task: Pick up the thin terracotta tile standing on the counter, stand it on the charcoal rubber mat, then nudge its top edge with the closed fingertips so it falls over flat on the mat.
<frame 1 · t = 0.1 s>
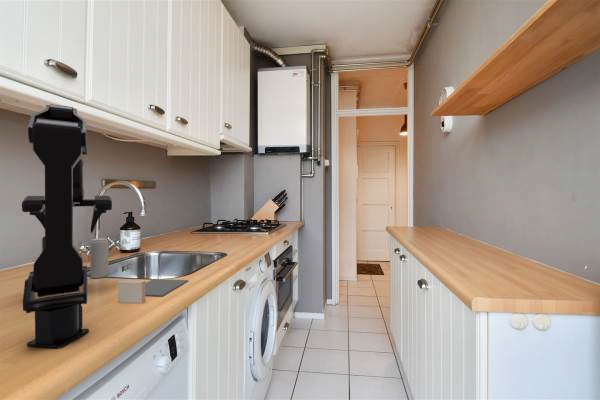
hand: (71, 233, 84), 15 cm above the counter, tool pointing down, fingers open, 9 cm apart
mat: (157, 287, 86), on the counter
tile: (132, 301, 75), on the counter
beverage can: (99, 277, 98), on the counter
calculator: (57, 288, 86), on the counter
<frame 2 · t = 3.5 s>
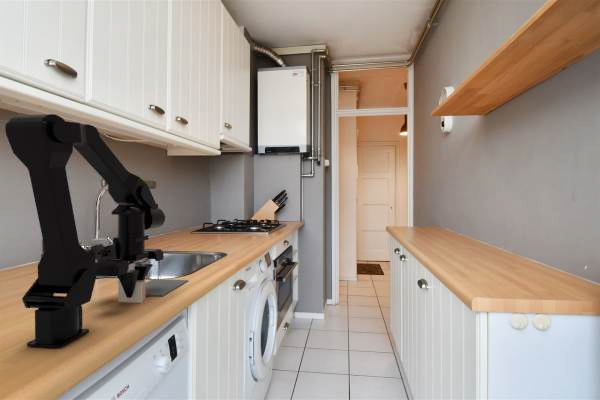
hand: (132, 296, 75), 1 cm above the counter, tool pointing down, fingers closed on tile, 2 cm apart
tile: (132, 301, 75), on the counter, touching gripper
everything else where it was.
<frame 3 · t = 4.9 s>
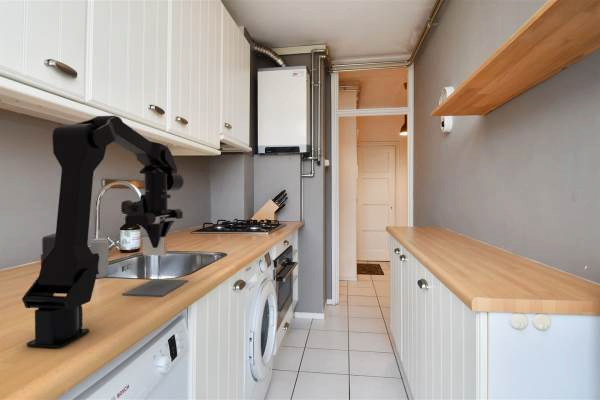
hand: (157, 247, 86), 11 cm above the counter, tool pointing down, fingers closed on tile
tile: (155, 254, 86), point 9 cm above the counter, touching gripper
everything else where it was.
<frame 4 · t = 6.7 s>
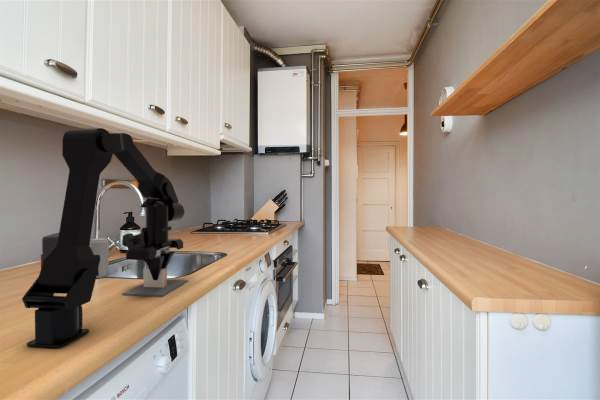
hand: (157, 279, 86), 2 cm above the counter, tool pointing down, fingers closed on tile, 2 cm apart
tile: (155, 286, 86), resting on mat, touching gripper
everything else where it was.
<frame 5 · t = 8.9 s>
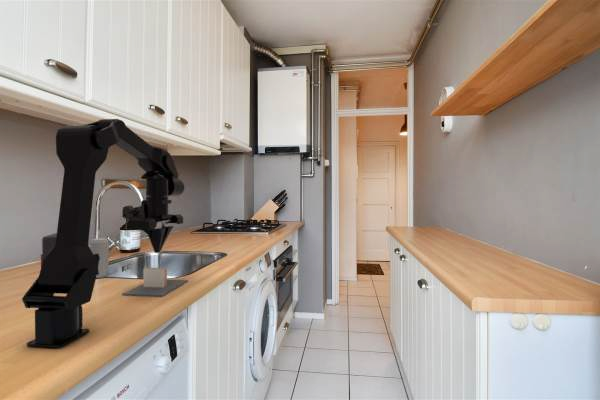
hand: (157, 252, 86), 10 cm above the counter, tool pointing down, fingers closed
tile: (155, 286, 86), resting on mat
everything else where it was.
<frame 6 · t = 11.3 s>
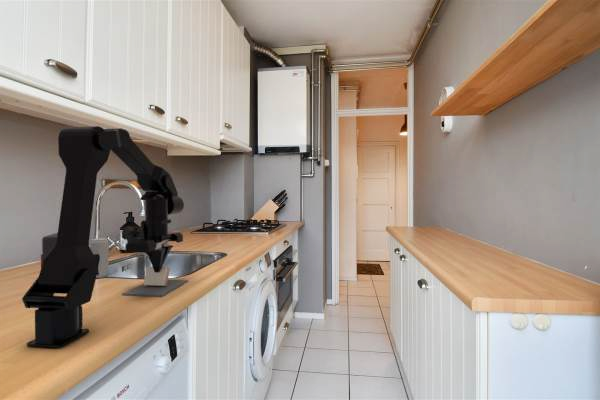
hand: (157, 272, 86), 4 cm above the counter, tool pointing down, fingers closed
tile: (155, 285, 86), point 1 cm above the counter, tilted 19°, touching mat
everything else where it was.
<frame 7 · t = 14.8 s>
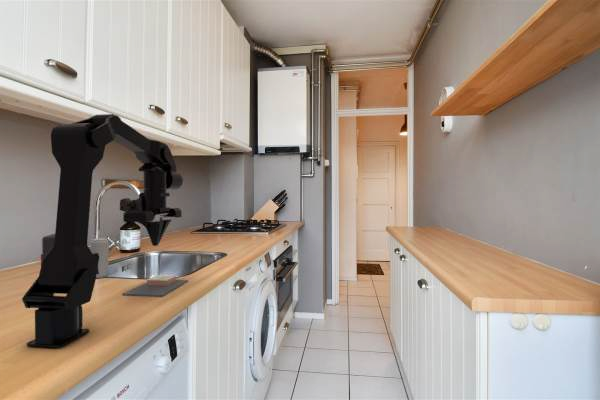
hand: (155, 245, 85), 12 cm above the counter, tool pointing down, fingers closed
tile: (156, 283, 87), point 1 cm above the counter, tilted 90°, touching mat
everything else where it was.
at the end: tile tilted 90°; tile inside the target area on the mat (0.8 cm from its centre), point 1.1 cm above the mat's base; the gripper is holding nothing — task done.
